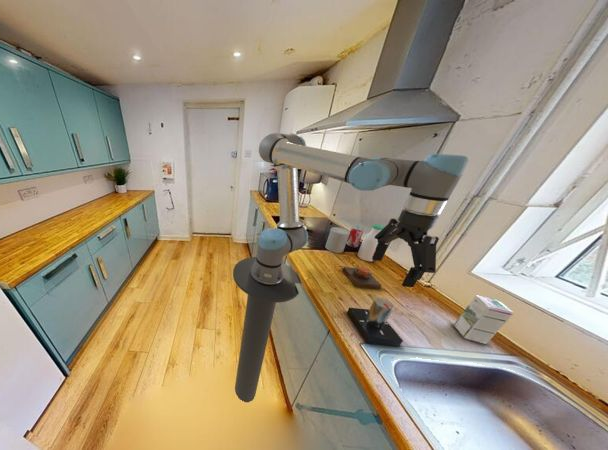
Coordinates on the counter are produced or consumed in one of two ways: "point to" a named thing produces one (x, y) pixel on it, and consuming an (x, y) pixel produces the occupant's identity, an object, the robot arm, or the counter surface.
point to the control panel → (373, 329)
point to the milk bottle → (369, 244)
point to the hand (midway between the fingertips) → (390, 271)
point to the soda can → (354, 236)
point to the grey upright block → (379, 313)
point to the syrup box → (482, 319)
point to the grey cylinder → (337, 239)
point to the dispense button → (363, 271)
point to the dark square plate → (361, 278)
